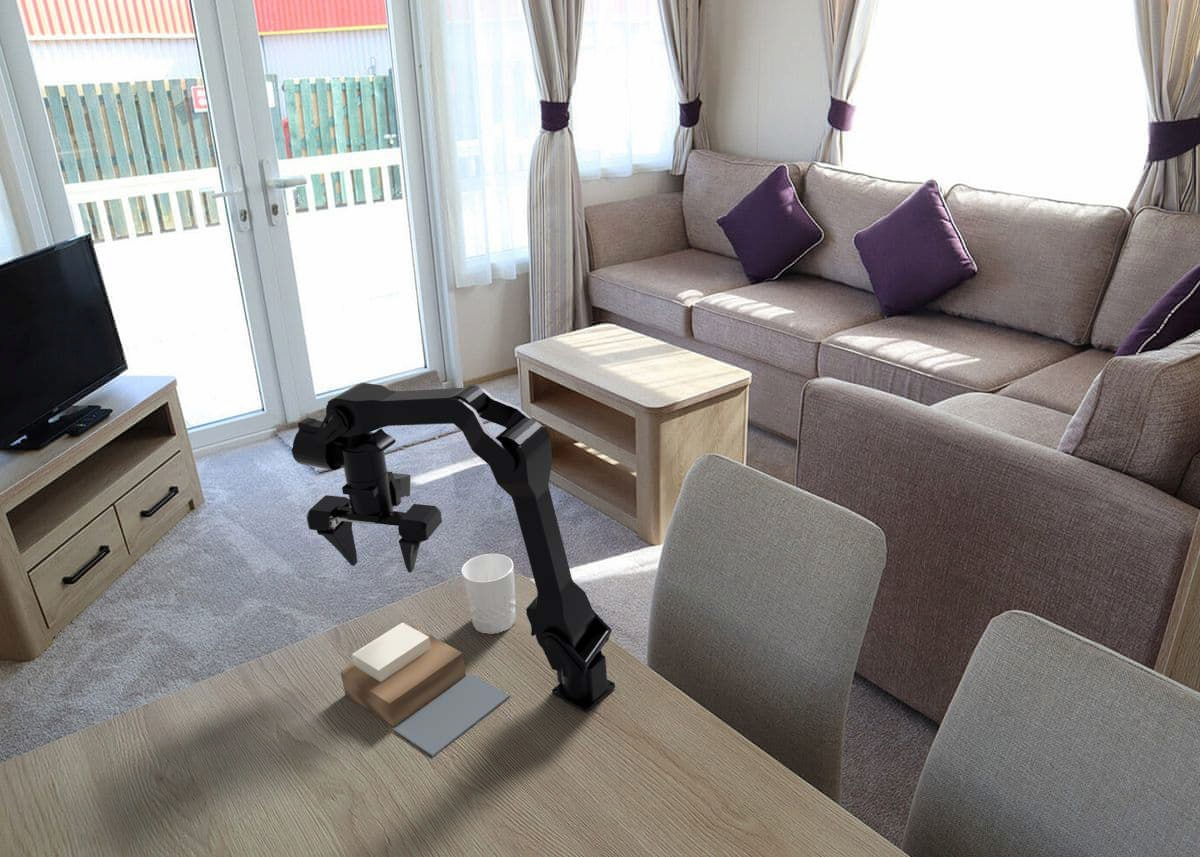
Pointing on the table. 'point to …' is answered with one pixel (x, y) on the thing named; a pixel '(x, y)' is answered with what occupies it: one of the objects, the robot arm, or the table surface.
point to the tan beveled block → (406, 682)
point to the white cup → (490, 592)
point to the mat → (451, 714)
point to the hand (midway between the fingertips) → (382, 567)
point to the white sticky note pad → (391, 651)
